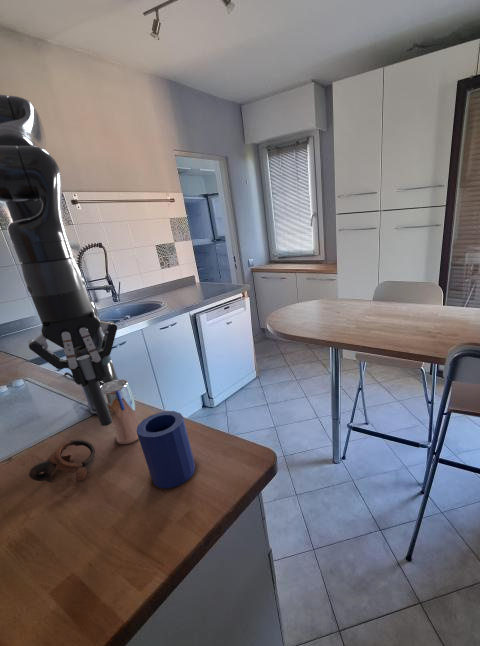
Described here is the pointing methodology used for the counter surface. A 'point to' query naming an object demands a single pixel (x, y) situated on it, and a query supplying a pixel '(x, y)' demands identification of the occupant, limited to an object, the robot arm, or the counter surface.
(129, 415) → the beer glass
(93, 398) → the marker
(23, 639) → the counter surface
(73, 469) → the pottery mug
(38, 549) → the counter surface
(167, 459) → the vase
